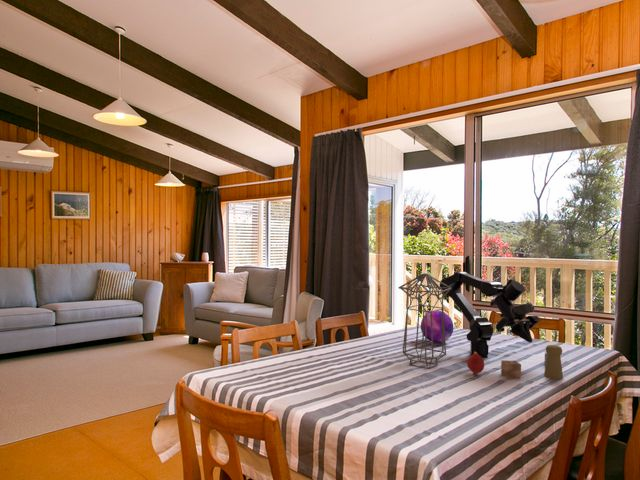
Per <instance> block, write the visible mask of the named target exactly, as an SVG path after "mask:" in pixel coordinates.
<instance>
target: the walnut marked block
mask: <svg viewBox="0 0 640 480" xmlns="http://www.w3.org/2000/svg"><path fill="white" fill-rule="evenodd" d="M500 361H501V362H500V375H502V377H504V378H505V377H506V378H505V379H517V380H518V379H522V364H521V363H520V362H518V361H516V360H505V359H503V360H500Z"/></svg>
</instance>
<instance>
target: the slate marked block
mask: <svg viewBox="0 0 640 480" xmlns="http://www.w3.org/2000/svg"><path fill="white" fill-rule="evenodd" d="M546 360H547V353H546V350H544V367H545V366H546Z"/></svg>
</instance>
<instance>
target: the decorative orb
mask: <svg viewBox="0 0 640 480" xmlns="http://www.w3.org/2000/svg"><path fill="white" fill-rule="evenodd" d="M433 311H434V310H433ZM444 328H445V342H446V341H448V340H449V339H450V338H451V336H452V335H453V333H454V322H453V320H452V318H451V316H450V315H449V314H448V313H446V312H444ZM420 330H421V333H422V334H423V318H422V319H421V321H420ZM432 331H433V344H434V343H435V344H439V343H441V344H442V310H439V311H434V312H432ZM424 337H425V315H424ZM427 341H428V342H431V316H430V313H429V312H427ZM443 341H444V335H443Z"/></svg>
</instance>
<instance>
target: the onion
mask: <svg viewBox="0 0 640 480" xmlns="http://www.w3.org/2000/svg"><path fill="white" fill-rule="evenodd" d="M466 365H467V368H468V369H469V370H470V371H471V373H472V374H473V375H479V373H481V372H482V371H483V370H484V369H485V361H484V359H483V357H481V356H479V355H478V354H477V352H474V354H473V355H470V356H469V357H468V358H467V362H466Z"/></svg>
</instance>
